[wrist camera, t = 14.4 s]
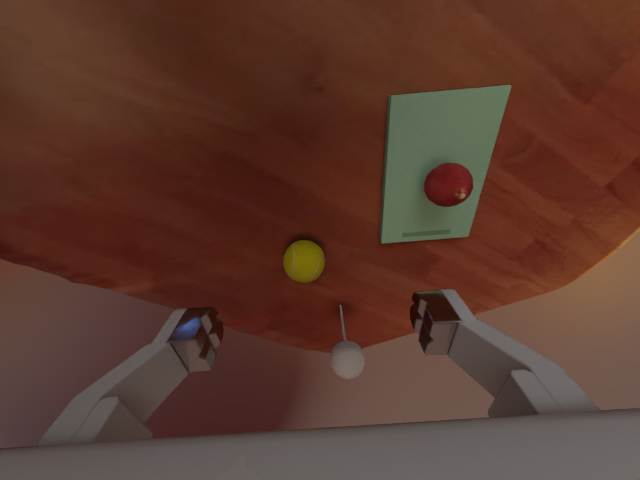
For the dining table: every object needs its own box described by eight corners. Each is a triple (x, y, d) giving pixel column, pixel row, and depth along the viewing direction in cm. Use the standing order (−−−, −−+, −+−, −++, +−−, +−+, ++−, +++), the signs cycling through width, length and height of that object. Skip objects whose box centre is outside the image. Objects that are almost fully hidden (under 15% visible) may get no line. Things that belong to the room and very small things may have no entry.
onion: (462, 160, 34) (500, 176, 27) (445, 198, 37) (475, 220, 30) (424, 154, 33) (452, 169, 27) (410, 193, 36) (432, 215, 30)
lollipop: (331, 292, 49) (338, 362, 36) (358, 298, 50) (374, 368, 37) (323, 313, 52) (326, 384, 39) (348, 317, 53) (359, 388, 40)
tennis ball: (328, 238, 42) (331, 262, 36) (317, 268, 45) (318, 294, 39) (290, 228, 41) (286, 251, 35) (281, 260, 44) (276, 286, 38)
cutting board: (388, 95, 31) (391, 95, 30) (503, 85, 31) (512, 84, 29) (379, 239, 42) (381, 243, 41) (463, 232, 42) (468, 237, 41)
